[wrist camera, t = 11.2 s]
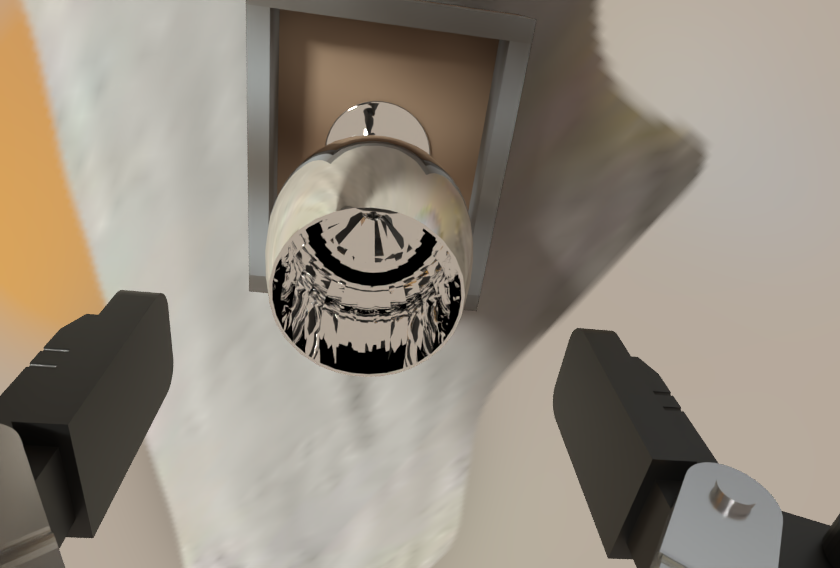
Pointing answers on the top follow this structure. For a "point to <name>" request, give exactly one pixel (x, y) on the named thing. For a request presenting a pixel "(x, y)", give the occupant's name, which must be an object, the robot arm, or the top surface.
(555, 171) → the top surface
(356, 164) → the wineglass
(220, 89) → the top surface
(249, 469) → the top surface
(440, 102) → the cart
